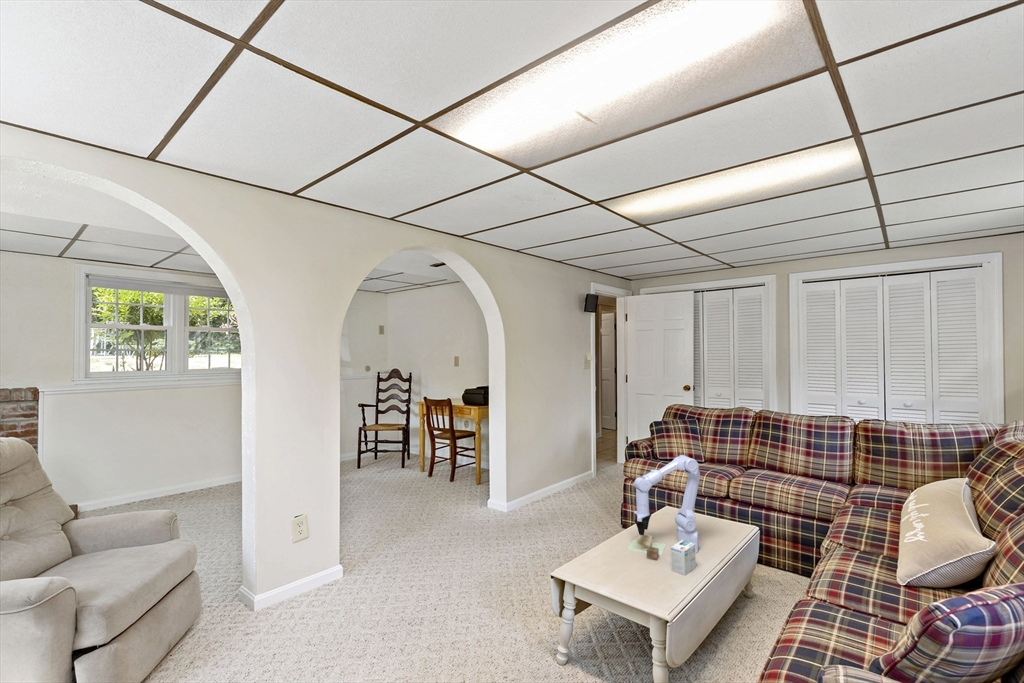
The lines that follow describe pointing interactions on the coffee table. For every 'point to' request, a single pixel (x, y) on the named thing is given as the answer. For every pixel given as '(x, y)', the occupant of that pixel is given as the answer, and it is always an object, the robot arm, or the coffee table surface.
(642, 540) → the maple base brick
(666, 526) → the coffee table surface
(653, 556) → the walnut brick
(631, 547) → the plate
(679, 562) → the light bulb box
